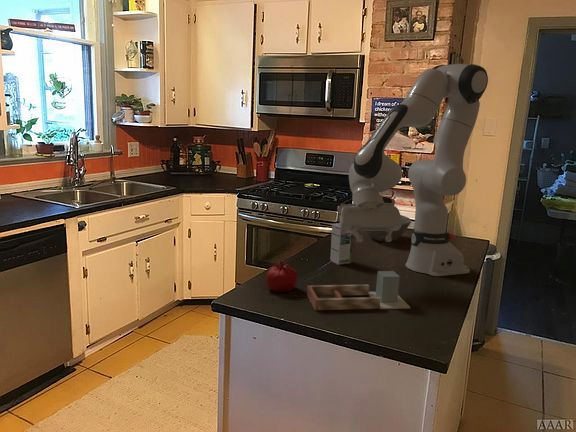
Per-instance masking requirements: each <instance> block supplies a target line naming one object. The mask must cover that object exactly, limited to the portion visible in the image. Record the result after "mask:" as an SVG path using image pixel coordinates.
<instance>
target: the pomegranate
mask: <svg viewBox="0 0 576 432" xmlns="http://www.w3.org/2000/svg"><path fill="white" fill-rule="evenodd" d="M283 262H284V260H279V263H278V264H279V266H278V265H277V264H271V266H272V267H270V268H269V269H268V270H267V272H266V274H265V281H266V285H267V288H268V289H269V290H270V291H271V292H275V293H287V292H288V293H289V292H291V291H293V290H294V289H295V288H296V286H297V284H298V282H299V273H298V272H297V270H296V269H295V268H294V267H293V266H291V265H290V263H286V264H285V265H283V264H284V263H283ZM288 265H289V266H288Z"/></svg>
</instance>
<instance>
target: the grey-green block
mask: <svg viewBox="0 0 576 432" xmlns="http://www.w3.org/2000/svg"><path fill="white" fill-rule="evenodd" d="M376 274H377V275H376V287H375V292H376V295H375V296H376V297H380V298H381V301H380V302H381V303H386V302H397V300H398V295H399V289H400V287H399V286H400V278H401V276H400V275H399V274H397V272H395V270H377V273H376Z"/></svg>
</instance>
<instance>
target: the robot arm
mask: <svg viewBox="0 0 576 432" xmlns="http://www.w3.org/2000/svg"><path fill="white" fill-rule="evenodd" d="M488 84H489V75H488V73H487V70H486V69H485V68H484V67H483V66H480V65H478V64H473V63H472V64H467V63H453V64H452V63H451V64H440V65H436V66H433V67H432V68H428V69H425V70H424V71H422V72H421V74H420V75H419V76H418V77H417V79H416V80H415V82H414V83H413V85H412V86H411V88H410V89H409V90H408V93H407V94H406V96H405V98H404V99H403V101H401V103H400V104H395V105H394V106H393V107H392V108H391V109H390V110H389V111H388V112H387V114H386V115H385V116H384V118H383V119H382V120H381V122H380V123H379V125H378V126H377V127H376V129H375V130H374V131H373V132H372V134H371V136H370V137H369V138H368V140H367V141H366V143H365V144H363V146H361V148H360V149H359V150H358V151H357V152H356V153H355V155H354V158H353V163H352V164H351V166H349V170H348V182H349V187H350V191H351V193H352V198H351V199H352V203H348V204H347V203H346V204H345V203H341V204H339V205H338V206H337V209H336V210H337V214H338V215H339V223H340V228H341V229H342V230H343V231H352V234H353V237H355V238H356V242H357V243H362V242H363V241H364V239H363V238H364V237H363V234H360V233H359V232H358V231H360V232H361V231H363V232H365V231H387V233H389V234H388V235H386V236H385V241H386V242H385V243H387V242H388V243H391V242H392V241H391V240H392V238H391V234H392V231H398V230H399V229H400V228H401V226H402V218H401V213H400V210H399V208H398V207H397V206H396V201H395V199H394V198H391V197H389V196H385V195H382V194H379V193H382V192H386V191H388V190H390V189H392V188H395V187H397V186H398V184H399V183H400V182H401V180H402V178H403V169H402V166H401V165H400V164H399V163H398V162H396V161H395V160H394V159H392V158H391V157H390V156H388V155H387V154H386V152H385V150H386V148H387V146H388V145H389V143H390V142H391V141H392V139H393V137H394V136H395V135H396V134H397V133H398V131H399V130H401V128H404V127H407V128H413V129H414V128H417V129H418V128H422V127H425V126H427V125H429V124H430V123H431V122H432V121H433V120H434V117H435V115H436V114H437V112H438V110H439V108H440V106H441V104H442V102H443V100H444V98H448V104H447V107H446V109H445V111H444V113H443V116H442V118H441V119H440V121H439V122H440V123H439V124H438V126H437V130H436V133H435V135H434V137H433V144H434V148H435V152H434V158H433V160H432V159H420V160H416V161H414V162H413V163H412V164H411V165H410V166H409V168H408V171H407V177H408V180H409V182H410V184H411V186H412V190H413V196H414V204H415V214H414V224H413V225H414V227H413V228H412V232H411V241H410V243H411V246H410V250H409V255H408V258H407V260H406V263H405V267H406V268H407V269H409V270H412V271H413V272H418V273H421V274H427V275H430V276H434V277H445V276H453V275H464V274H470V273H471V270H470V268H469V267H468V266H467V265H466V264H465V261H464V254H463V253H462V252H461V251H460V250H459V249H458V248H457V247H455V246H454V244H452V242H450V240H451V241H454V240H455V239H456V238H457V237H456V235H455V234H453V233H449V232H448V231H447V226H448V224H447V223H448V217H449V211H448V208H447V206H446V204H445V201H444V198H443V196H444V197H445V196H446V197H449V196H456V195H458V194H460V193H461V192H462V191H463V190H464V189H465V186H466V185H467V184H466V183H467V175H466V173H465V170H464V156H465V151H466V148H467V145H468V142H469V140H470V137H471V135H472V132H473V130H474V127H475V124H476V122H477V118H478V115H479V112H480V105H481V102H480V99H481V98H482V96H483V94H484V93H485V92H486V89H487V88H488Z"/></svg>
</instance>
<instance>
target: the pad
mask: <svg viewBox="0 0 576 432" xmlns="http://www.w3.org/2000/svg"><path fill="white" fill-rule="evenodd" d="M375 295H376V291H369V294H368V295H367V296H368V297H376V296H375ZM397 309H398V310H399V309H401V310H402V309H411V306H410V305H409V304H408V303H407V302H406V301H405V300H404V299H403V298H402V297H401V296H400V295H399V294H398V300H397V302H386V303H381V302H380V309H379V310H397Z"/></svg>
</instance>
